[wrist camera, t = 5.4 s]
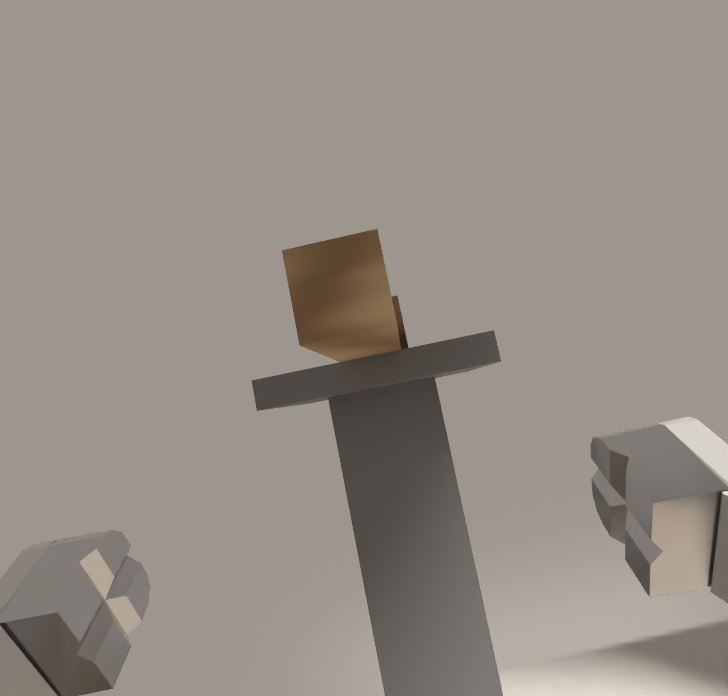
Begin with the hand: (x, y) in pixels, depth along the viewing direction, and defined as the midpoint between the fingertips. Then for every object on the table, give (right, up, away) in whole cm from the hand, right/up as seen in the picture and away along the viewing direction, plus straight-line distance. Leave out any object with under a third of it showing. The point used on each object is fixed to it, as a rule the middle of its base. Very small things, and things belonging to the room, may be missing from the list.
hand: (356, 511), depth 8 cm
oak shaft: (+1, +2, +16) cm, 16 cm away
